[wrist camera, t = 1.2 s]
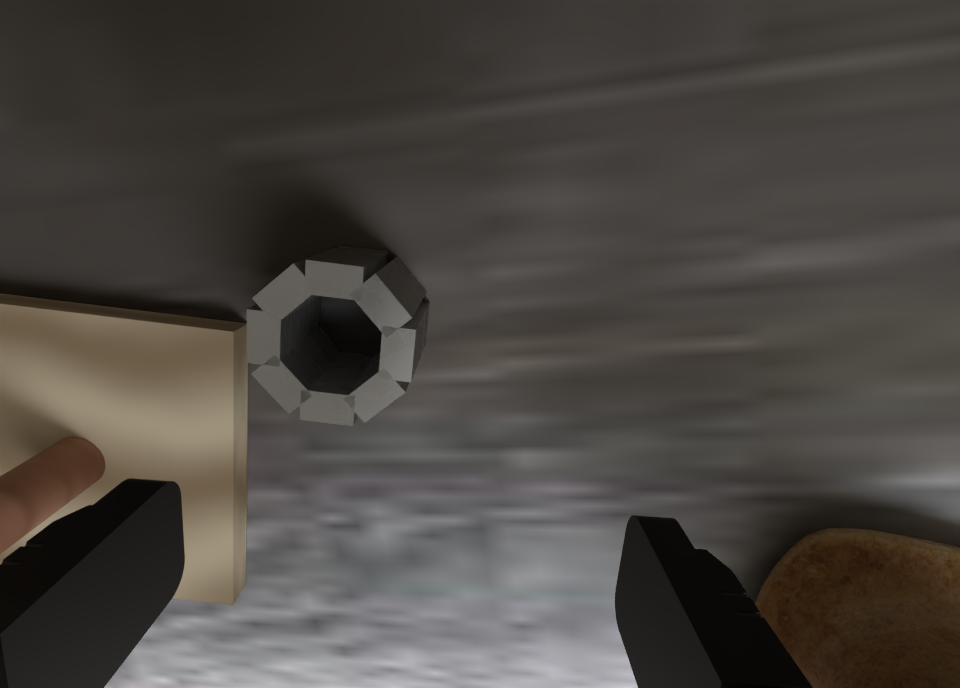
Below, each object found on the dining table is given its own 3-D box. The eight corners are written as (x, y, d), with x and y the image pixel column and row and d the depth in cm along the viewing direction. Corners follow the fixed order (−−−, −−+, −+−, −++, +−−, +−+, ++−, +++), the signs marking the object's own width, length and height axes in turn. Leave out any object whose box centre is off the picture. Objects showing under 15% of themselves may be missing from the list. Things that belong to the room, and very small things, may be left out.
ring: (295, 239, 24) (247, 252, 19) (434, 256, 24) (421, 274, 19) (291, 370, 25) (246, 413, 20) (421, 386, 25) (406, 432, 21)
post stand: (-69, 285, 24) (-463, 353, 14) (248, 323, 25) (84, 416, 15) (-29, 554, 28) (-316, 758, 18) (246, 583, 28) (115, 800, 18)
